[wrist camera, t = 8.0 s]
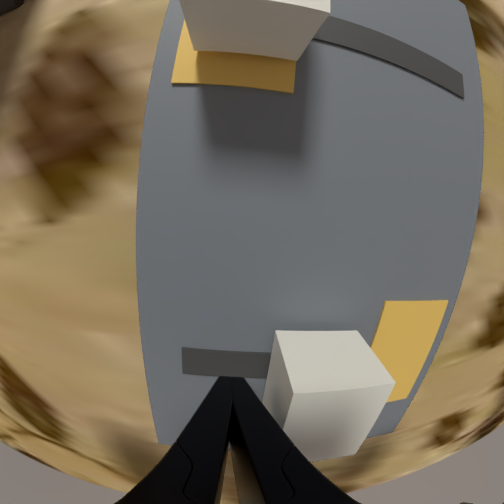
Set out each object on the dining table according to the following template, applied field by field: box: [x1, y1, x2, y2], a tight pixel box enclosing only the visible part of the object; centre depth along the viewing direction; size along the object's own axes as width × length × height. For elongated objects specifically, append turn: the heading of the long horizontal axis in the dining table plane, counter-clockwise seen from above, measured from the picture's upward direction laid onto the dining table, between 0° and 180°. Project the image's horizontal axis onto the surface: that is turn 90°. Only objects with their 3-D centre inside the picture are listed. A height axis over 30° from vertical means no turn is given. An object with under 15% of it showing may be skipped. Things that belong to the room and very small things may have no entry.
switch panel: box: [136, 0, 484, 450], centre depth 9 cm, size 13×24×2 cm, turn 174°
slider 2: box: [262, 330, 396, 462], centre depth 8 cm, size 3×4×3 cm
